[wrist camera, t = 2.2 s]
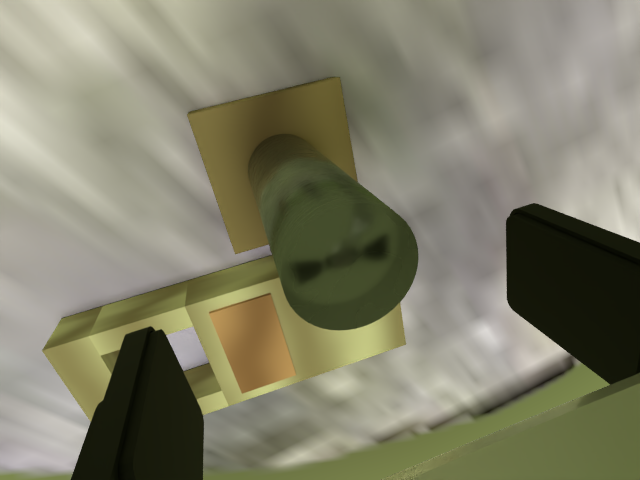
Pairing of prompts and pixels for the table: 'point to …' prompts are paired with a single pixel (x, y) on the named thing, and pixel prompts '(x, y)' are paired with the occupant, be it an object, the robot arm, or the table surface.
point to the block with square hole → (216, 337)
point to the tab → (254, 127)
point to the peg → (329, 237)
